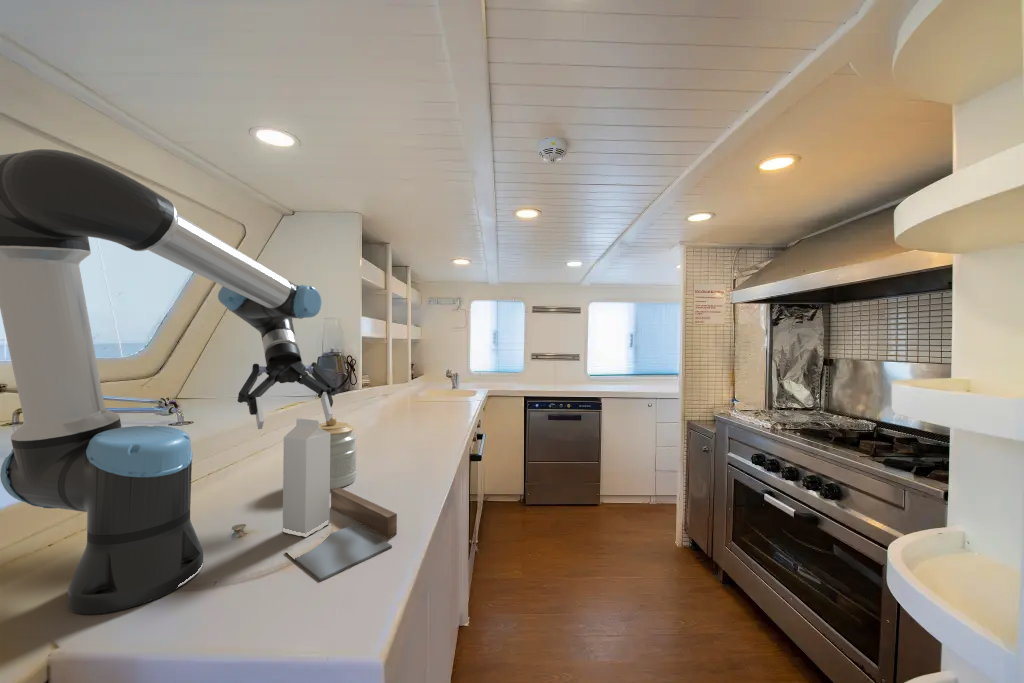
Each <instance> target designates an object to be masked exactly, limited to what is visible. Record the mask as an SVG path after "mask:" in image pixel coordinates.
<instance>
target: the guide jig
mask: <svg viewBox="0 0 1024 683" xmlns="http://www.w3.org/2000/svg"><path fill="white" fill-rule="evenodd" d="M330 509H333V510H334V511H336V512H338V513H340V514H342V515H344V516H346V517H347V518H349V519H351V520H353V521H355V522H356V523H358V522H359V523H358V524H360V523H361V524H360V525H362V526H364V525H365V526H364V527H366V528H368V529H369V530H371V529H372V531H373V530H374V531H373V532H375V531H376V532H375V533H377V534H379V535H380V536H383V537H384V536H385V538H386V537H387V538H386V539H389V538H391V536H392V537H394V536H396V535H397V534H398V533H397V531H398V530H397V528H398V518H397V517H398V514H397V513H396V512H394V511H391V510H390V509H387V508H385V507H382V506H381V505H378V504H376V503H375V502H372V501H369V500H367V499H366V498H363V497H361V496H359V495H357V494H356V493H352V492H351V491H348V490H346V489H344V488H343V487H340V488H336V489H330ZM329 534H330V535H329V536H328V537H327V538H326V539H325V540H324V541H323V542H322V543H321V544H319V545H318V546H317V547H316V548H314V549H312V550H311V551H309V552H307V553H305V554H303V555H301V556H300V557H297V558H295V560H294V561H295V562H296V563H297V564H298V565H300V566H301V567H302V568H303V569H305V571H307V572H308V573H310V574H311V575H312V576H314V577H315V578H316V579H317V580H318V581H320V582H323V581H325V580H326V579H329V578H331V577H332V576H335V575H337V574H339V573H341V572H344V571H345V570H347V569H350V568H352V567H354V566H356V565H358V564H360V563H362V562H364V561H366V560H368V558H369V559H370V557H371V558H373V557H374V556H377V555H379V554H381V553H383V552H385V551H387V549H388V550H389V548H390V549H392V548H393V545H392V544H391V543H388V542H386V541H385V540H383V539H381V538H379V537H378V536H376V535H374V534H372V533H370V532H368V531H366V530H365V529H364V528H361V527H359V526H357V525H356V524H352V525H349V526H346V527H344V528H341V529H339V530H336V531H333V532H332V533H331V532H330V533H329ZM372 556H373V557H372Z"/></svg>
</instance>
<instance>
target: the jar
mask: <svg viewBox="0 0 1024 683" xmlns="http://www.w3.org/2000/svg"><path fill="white" fill-rule="evenodd" d="M337 420H338V419H337V418H336V417H335V416H331V419H330V421H326V420H325V422H322V423H319V428H320V429H322V430H325V431H327V432H329V433H330V490H333V489H336V488H343V487H347V486H348V485H352V484H353V483H354V482H355V481H356V477H357V473H358V472H357V470H358V469H357V450H358V448H357V446H356V440H357V438H358V435H357V434H356V433H354V432H353V431H354V429H355V427H354V426H352V425H350V424H349V423H348V422H343V421H337Z"/></svg>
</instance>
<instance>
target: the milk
mask: <svg viewBox="0 0 1024 683" xmlns="http://www.w3.org/2000/svg"><path fill="white" fill-rule="evenodd" d="M319 424H320V421H319V420H318V419H309V418H308V419H307V418H296V424H295V426H294V427H293V428H292V429H291V430H290V431H288V433H286V434H285V435H284V436H283V460H282V461H283V468H282V469H283V470H282V471H283V472H282V473H283V477H282V478H283V479H282V481H283V482H282V483H283V484H282V486H283V487H282V529H283V528H285V529H289V530H292V531H296V532H301V533H305V534H306V533H307V532H309V531H311V530H312V529H314V528H316V527H318V526H319V525H321V524H322V523H324V522H325V521H327V520H329V521H330V509H331V489H330V433H329V432H327V431H325V430H322V429H320V428H319Z"/></svg>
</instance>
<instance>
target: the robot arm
mask: <svg viewBox="0 0 1024 683" xmlns="http://www.w3.org/2000/svg"><path fill="white" fill-rule="evenodd" d="M89 238H95V239H101V240H105V241H110V242H113V243H116V244H119V245H122V247H123V246H124V247H125V248H128V249H130V250H131V251H134V252H144V251H149V252H151V253H153V254H155V255H158V256H159V257H162V258H163V259H165V260H167V261H170V262H171V263H174V264H176V265H179V266H181V267H182V268H185V269H186V270H189V271H191V272H193V273H195V274H197V275H199V276H201V277H203V278H205V279H207V280H209V281H211V282H214V283H216V284H218V285H220V286H221V288H220V289H219V291H218V295H217V299H218V301H219V303H221V304H222V305H223V306H224V307H225V308H227V309H228V311H229V312H232V313H233V314H234V315H236V316H238V318H240V319H242V320H243V321H244V322H246V323H247V324H248V325H250V326H251V327H253V328H254V329H255V330H256V331H258V332H259V333H260V336H261V340H262V347H263V352H264V357H265V358H264V359H265V363H266V364H265V366H260V364H258V363H253V364H252V368H251V373H250V375H249V376H248V377H247V379H246V381H245V383H244V384H243V386H242V387H241V389H240V391H239V392H238V395H237V402H238V403H240V404H241V403H246V404H247V407H248V410H249V411H248V412H249V414H250V415H251V416H255V419H256V425H257V426H256V427H257V430H262V429H263V426H264V423H265V419H264V413H263V408H262V402H261V400H262V399H261V397H262V396H263V395H264V394H266V392H267V391H268V390H269V389H270V388H271V387H273V386H274V385H275V384H276V383H277V382H278V383H279V384H285V383H290V384H291V383H294V384H295V383H298V384H300V385H304V386H305V387H306V388H308V389H310V390H311V391H313V392H315V393H316V394H318V395H320V396H321V397H320V402H321V406H322V409H323V413H324V417H325V418H324V419H325V422H326V421H330V419H331V416H332V415H333V410H332V407H333V404H334V400H333V396H336V393H337V391H338V388H339V387H338V386H337V385H336V384H335V382H333V381H332V380H331V379H330V378H329V376H327V375H326V373H324V372H323V370H321V369H320V368H319V365H318V363H317V362H315V361H313V362H312V363H311V364H308V365H305V364H304V363H303V359H302V355H301V352H300V349H299V344H298V338H297V337H296V332H295V328H294V324H293V319H299V320H300V319H301V320H302V319H306V318H307V319H309V318H313V317H315V316H317V315H318V314H319V313H320V311H321V308H322V297H321V294H320V292H319V291H318V290H317V288H315V287H314V286H313V285H305V284H300V285H297V284H295V283H293V282H291V281H290V280H289V279H286V278H285V277H283V276H281V275H280V274H279V273H277V272H275V271H274V270H271V269H270V268H268V267H266V266H265V265H263V264H262V263H260V262H259V261H256V260H255V259H254V258H252V257H250V256H249V255H247V254H245V253H244V252H241V251H240V250H239V249H237V248H235V247H234V246H232V245H230V244H228V243H227V242H225V241H224V240H222V239H221V238H219V237H217V236H215V235H214V234H213V233H211V232H209V231H207V230H206V229H204V228H202V227H201V226H199V225H198V224H195V223H194V222H192V221H191V220H189V219H188V218H186V217H185V216H183V215H181V214H179V213H178V212H177V208H176V206H175V205H174V203H173V202H172V201H171V200H169V199H168V198H166V197H164V196H163V195H161V194H160V193H158V192H156V191H154V190H153V189H151V188H149V187H148V186H146V185H144V184H142V183H141V182H139V181H137V180H136V179H134V178H131V177H130V176H128V175H127V174H125V173H123V172H120V171H118V170H116V169H114V168H112V167H110V166H108V165H106V164H103V163H101V162H98V161H96V160H94V159H91V158H88V157H85V156H82V155H79V154H77V153H73V152H69V151H65V150H60V149H45V148H42V149H41V148H40V149H31V150H25V151H21V152H13V153H7V154H0V314H1V318H2V323H3V328H4V332H5V338H6V342H7V346H8V351H9V356H10V361H11V365H12V371H13V375H14V381H15V385H16V389H17V394H18V398H19V403H20V408H21V413H22V417H23V423H22V424H21V425H20V426H19V427H17V429H16V430H15V431H13V432H12V433H11V434H10V439H11V445H12V449H11V451H10V453H9V455H8V456H6V457H5V458H4V460H3V462H2V464H1V468H0V482H1V484H2V487H3V488H4V490H5V492H7V493H8V495H10V496H11V497H12V498H14V499H16V500H18V501H20V502H22V503H26V504H27V505H30V506H33V507H41V508H43V509H61V510H66V511H67V510H69V511H75V512H84V513H87V514H86V517H87V518H86V519H87V520H86V523H87V524H86V526H87V527H86V533H87V534H86V546H85V549H84V551H83V553H82V555H81V558H80V559H79V563H78V565H77V567H76V569H75V571H74V574H73V576H72V579H71V581H70V584H69V585H68V590H67V608H68V609H69V610H70V611H71V612H73V613H76V614H80V615H81V614H82V615H95V614H96V615H98V614H107V613H111V612H112V613H113V612H117V611H122V610H127V609H129V608H133V607H137V606H140V605H143V604H145V603H149V602H152V601H153V600H156V599H158V598H159V599H160V598H161V597H163V596H165V595H168V594H170V593H172V592H173V591H176V590H177V589H178V588H177V587H178V585H179V584H180V583H182V582H184V581H185V580H186V579H188V578H189V577H190V576H192V575H193V574H195V573H196V572H197V571H198V569H199V568H200V567H201V565H202V563H203V564H204V549H203V547H202V544H201V542H200V540H199V537H198V535H197V533H196V531H195V528H194V526H193V524H192V522H191V502H192V500H191V498H192V469H193V468H192V466H193V465H192V463H193V451H192V445H191V444H192V443H191V438H190V435H189V434H188V433H187V432H186V431H184V430H183V429H181V428H176V427H171V426H166V425H165V426H164V425H152V426H150V425H149V426H148V425H132V426H131V425H130V426H126V427H124V426H122V422H121V417H120V414H119V413H116V412H114V411H112V410H110V409H107V407H106V406H105V401H104V396H103V390H102V385H101V379H100V374H99V367H98V363H97V362H98V361H97V356H96V351H95V347H94V346H95V345H94V339H93V336H92V329H91V324H90V318H89V313H88V307H87V302H86V297H85V288H84V285H83V284H84V283H83V280H82V274H81V273H82V272H81V268H80V264H81V262H82V261H83V260H85V259H86V258H88V257H89V256H90V255H91V254H92V252H91V247H90V242H89ZM263 373H265V374H266V375H267V377H266V378H265V379H264V380H263V381H262V382H261V383H259V385H257V387H256V388H254V390H252V389H253V387H254V385H255V384H256V382H257V380H258V377H260V376H262V375H263ZM310 375H311V376H310ZM251 390H252V391H251ZM176 588H177V589H176Z"/></svg>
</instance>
